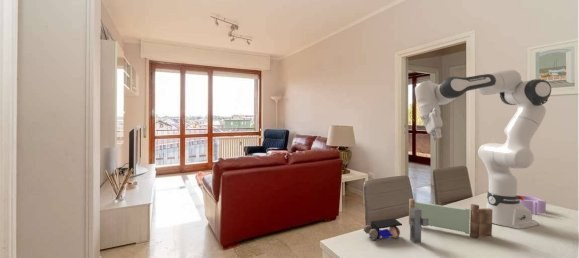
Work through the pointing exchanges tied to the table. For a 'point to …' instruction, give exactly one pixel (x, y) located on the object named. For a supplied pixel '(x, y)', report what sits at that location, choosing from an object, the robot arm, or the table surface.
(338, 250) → the table surface
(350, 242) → the table surface
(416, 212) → the latch post
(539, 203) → the clip
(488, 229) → the wooden hinge block
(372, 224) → the figurine character
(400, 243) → the table surface
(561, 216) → the table surface
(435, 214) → the gate
